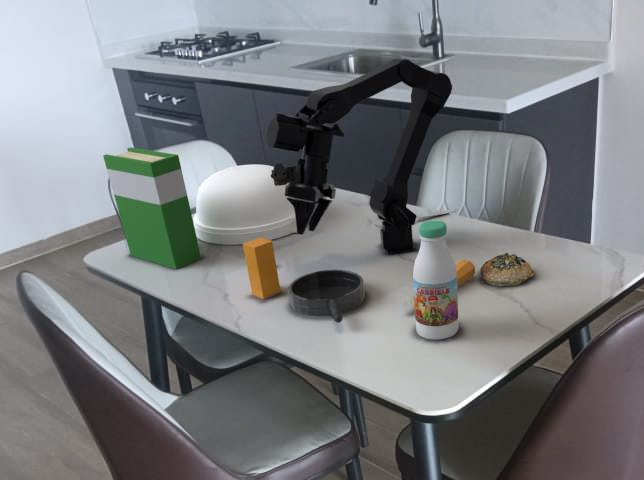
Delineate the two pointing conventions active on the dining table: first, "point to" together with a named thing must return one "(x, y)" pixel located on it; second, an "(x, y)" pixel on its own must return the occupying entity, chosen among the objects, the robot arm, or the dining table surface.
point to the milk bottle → (435, 284)
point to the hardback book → (153, 206)
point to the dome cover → (242, 206)
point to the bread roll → (506, 270)
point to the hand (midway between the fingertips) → (305, 232)
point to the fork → (429, 215)
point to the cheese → (261, 267)
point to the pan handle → (335, 310)
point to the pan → (326, 292)
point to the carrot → (464, 271)
